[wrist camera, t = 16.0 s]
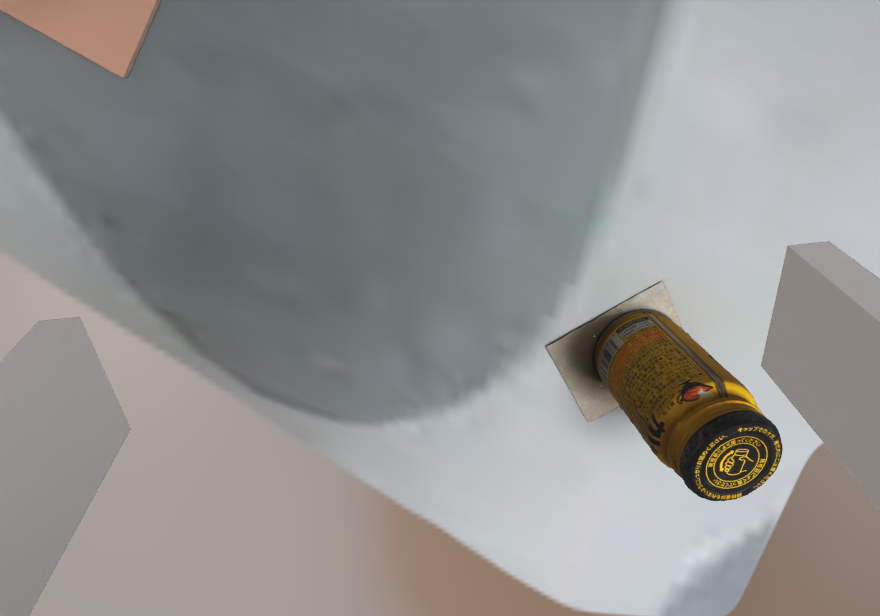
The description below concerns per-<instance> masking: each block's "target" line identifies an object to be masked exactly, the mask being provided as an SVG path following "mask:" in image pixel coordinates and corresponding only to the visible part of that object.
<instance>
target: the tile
mask: <svg viewBox="0 0 880 616" xmlns="http://www.w3.org/2000/svg"><path fill="white" fill-rule="evenodd" d="M160 2H161V0H0V10H2V11H4V12H5V13H7V14H9V15H11V16H13V17H14V18H16V19H18V20H20V21H22V22H23V23H25V24H27V25H29V26H30V27H32V28H34V29H36V30H38V31H39V32H41V33H43V34H45V35H47V36H48V37H50V38H52V39H54V40H56V41H57V42H59V43H61V44H63V45H64V46H66V47H68V48H70V49H72V50H73V51H75V52H77V53H79V54H81V55H82V56H84V57H86V58H88V59H90V60H91V61H93V62H95V63H97V64H99V65H100V66H102V67H104V68H106V69H107V70H109V71H111V72H113V73H115V74H116V75H118V76H120V77H122V78H125V77H128V75H129V73H130V71H131V69H132V66H133V64H134V62H135V59H136V57H137V55H138V52H139V50H140V48H141V46H142V43H143V41H144V39H145V36H146V34H147V32H148V29H149V27H150V25H151V23H152V20H153V18H154V16H155V13H156V11H157V9H158V6H159V4H160Z"/></svg>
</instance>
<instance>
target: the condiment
mask: <svg viewBox="0 0 880 616" xmlns="http://www.w3.org/2000/svg"><path fill="white" fill-rule="evenodd" d="M594 335H595V337H593V336H594ZM546 348H547V350H548V351H549V353H550V355H551V357H552V359H553V360H554V362H555V364H556V366H557V368H558V369H559V371H560V373H561V375H562V377H563V378H564V380H565V382H566V384H567V386H568V387H569V389H570V391H571V393H572V395H573V396H574V398H575V400H576V402H577V404H578V405H579V407H580V409H581V411H582V413H583V414H584V416H585V418H586V420H587V422H588V423H589V422H591V421H592V420H594V419H597V418H599V417H601V416H602V415H604V414H605V413H607V412H609V411H612V410H614V409H616V408H617V407H618V406H620V407H621V409H622V410H624V412H625V414H626V415H627V416H628V417H629V419H630V421H631V422H632V423H633V424H634V426H635V427H636V429H637V430H638V431H639V433H640V434H641V435H642V438H643V439H644V440H645V441H646V443H647V444H648V445H649V447H650V448H651V450H652V451H653V453H654V454H655V455H656V456H657V457H658V458H659V460H660V461H661V462H662V463H664V464H665V465H666V466H668V467H670V468H672V469H674V471H675V472H676V473H677V474H678V475H679V476H680V477H681V478H683V480H684V482H685V484H686V486H687V487H688V488H689V489H691V490H692V491H693V492H694V493H695V494H697V495H698V496H699V497H701V498H705V499H708V500H711V501H725V500H732V499H737V498H740V497H743V496H745V495H748V494H749V493H750V492H752V491H754V490H756V489H757V488H758V487H759V486H761V485H762V484H764V482H765V481H767V480H768V478H769V477H770V476H771V475H772V474H773V473H774V472H775V470H776V469H777V466H778V464H779V462H780V459H781V455H782V443H781V438H780V434H779V432H778V430H777V428H776V426H775V425H774V424H773V423H772V422H771V421H770V420H768V419H767V418H766V417H765V416H764V415H763V413H762V412H761V411H760V410H759V408H758V407H757V404H756V402H755V401H754V398H753V396H752V395H751V394H750V392H749V391H748V390H747V388H746V387H745V386H744V385H743V384H742V383H740V381H738V380H737V379H736V378H735V377H733V376H732V375H731V374H730V373H729V372H728V371H727V370H726V369H724V368H723V367H722V366H721V365H720V364H719V363H718V362H717V361H716V360H714V358H713V357H712V356H711V355H710V354H708V352H706V351H705V349H703V348H702V347H701V346H700V345H699V344H698V343H696V342H695V341H694V340H693V339H692V338H691V337H690V335H689V334H688V333H686V332H685V331H684V330H683V328H682V326H681V324H680V321H679V319H678V316H677V314H676V312H675V309H674V307H673V304H672V301H671V299H670V296H669V294H668V291H667V289H666V287H665V284H664V282H663V281H662V282H660V283H659V284H657V285H655V286H653V287H651V288H649V289H647V290H645V291H643V292H641V293H640V294H638V295H636V296H634V297H633V298H632V299H629V300H627V301H625V302H623V303H621V304H619V305H618V306H617V307H615V308H613V309H611V310H609V311H608V312H606V313H605V314H603V315H601V316H599V317H598V318H597V319H595V320H594V321H592V322H590V323H587V324H585V325H584V326H582V327H580V328H578V329H576V330H574V331H572V332H571V333H569V334H568V335H566V336H565V337H563V338H562V339H560V340H558V341H556V342H554V343H553V344H551V345H549V346H547V347H546ZM599 385H604V386H603V387H600V386H599Z"/></svg>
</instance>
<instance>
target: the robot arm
mask: <svg viewBox="0 0 880 616" xmlns="http://www.w3.org/2000/svg"><path fill="white" fill-rule="evenodd" d="M761 366H762V368H763V369H764V370H765V371H766V372H767V374H768V375H769V376H770V377H771V379H772V380H773V381H774V382H775V383H776V385H777V386H778V387H779V388H780V390H781V391H782V392H783V393H784V394H785V396H786V397H787V398H788V399H789V401H790V402H791V403H792V404H793V405H794V407H795V408H796V409H797V410H798V412H799V413H800V414H801V415H802V417H803V418H804V419H805V420H806V421H807V423H808V424H809V425H810V426H811V428H812V429H813V430H814V431H815V432H816V434H817V435H818V436H819V437H820V439H821V440H822V441H823V442H824V443H825V445H826V446H827V447H828V448H829V450H830V451H831V452H832V453H833V454H834V456H835V457H836V458H837V459H838V461H839V462H840V463H841V464H842V465H843V467H844V468H845V469H846V470H847V472H848V473H849V474H850V475H851V476H852V478H853V479H854V480H855V481H856V483H857V484H858V485H859V486H860V487H861V489H862V490H863V491H864V492H865V494H866V495H867V496H868V497H869V499H871V501H872V502H873V503H874V505H875V506H876V507H877V508H878V510H879V511H880V279H879V278H878V277H877V276H875V275H874V274H873V273H871V272H870V271H869V270H867V269H866V268H864V267H863V266H862V265H860V264H859V263H858V262H856V261H855V260H854V259H852V258H851V257H850V256H848V255H847V254H845V253H844V252H843V251H841V250H840V249H839V248H837V247H836V246H835V245H833V244H832V243H831V242H829V241H828V242H818V243H808V244H798V245H788V246H787V250H786V255H785V259H784V264H783V268H782V273H781V277H780V282H779V287H778V291H777V296H776V300H775V305H774V309H773V314H772V318H771V323H770V327H769V332H768V336H767V341H766V345H765V350H764V354H763V359H762V363H761ZM129 431H130V427H129V424H128V422H127V420H126V418H125V415H124V413H123V411H122V409H121V407H120V404H119V402H118V400H117V398H116V395H115V394H114V391H113V389H112V387H111V385H110V382H109V380H108V378H107V376H106V374H105V371H104V369H103V367H102V365H101V363H100V361H99V358H98V356H97V354H96V352H95V349H94V347H93V345H92V343H91V341H90V338H89V336H88V334H87V332H86V330H85V327H84V325H83V323H82V321H81V319H80V317H74V318H65V319H54V320H45V321H38V322H37V323H36V324H35V325H34V326H33V328H32V329H31V330H30V331H29V332H28V333H27V334H26V335H25V336H24V337H23V338H22V340H20V342H19V343H18V344H17V345H16V346H15V347H14V348H13V349H12V350H11V351H10V352H9V353H8V355H7V356H6V357H5V358H4V359H3V360H2V361H1V362H0V616H29V615H30V613H31V612H32V610H33V608H34V606H35V604H36V602H37V600H38V599H39V597H40V595H41V593H42V591H43V589H44V588H45V586H46V583H47V582H48V580H49V578H50V577H51V575H52V573H53V571H54V569H55V567H56V565H57V564H58V562H59V560H60V558H61V556H62V554H63V552H64V551H65V549H66V547H67V545H68V543H69V542H70V540H71V538H72V536H73V534H74V532H75V531H76V529H77V527H78V525H79V523H80V521H81V519H82V518H83V516H84V514H85V512H86V510H87V508H88V507H89V505H90V503H91V501H92V499H93V497H94V496H95V494H96V492H97V490H98V488H99V486H100V485H101V483H102V481H103V479H104V477H105V475H106V474H107V472H108V470H109V468H110V466H111V464H112V462H113V461H114V459H115V457H116V455H117V453H118V451H119V449H120V448H121V446H122V444H123V442H124V440H125V439H126V437H127V435H128V433H129Z"/></svg>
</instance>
